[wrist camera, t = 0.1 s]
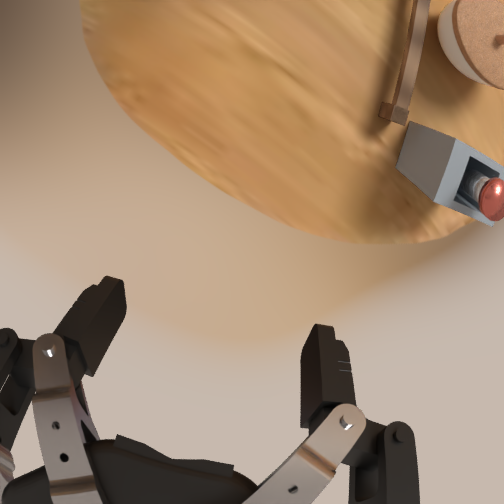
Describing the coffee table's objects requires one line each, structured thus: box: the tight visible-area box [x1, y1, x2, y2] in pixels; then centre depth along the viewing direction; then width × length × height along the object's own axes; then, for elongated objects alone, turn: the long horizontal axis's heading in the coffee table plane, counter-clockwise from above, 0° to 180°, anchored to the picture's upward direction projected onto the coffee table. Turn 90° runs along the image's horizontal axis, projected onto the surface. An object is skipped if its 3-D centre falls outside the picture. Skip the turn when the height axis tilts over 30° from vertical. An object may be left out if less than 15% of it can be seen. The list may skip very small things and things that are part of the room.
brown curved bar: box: [379, 0, 430, 126], centre depth 23 cm, size 24×2×4 cm, turn 169°
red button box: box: [395, 121, 504, 227], centre depth 28 cm, size 8×10×12 cm
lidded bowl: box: [437, 0, 504, 90], centre depth 19 cm, size 13×13×11 cm
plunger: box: [461, 169, 504, 221], centre depth 22 cm, size 4×4×6 cm
